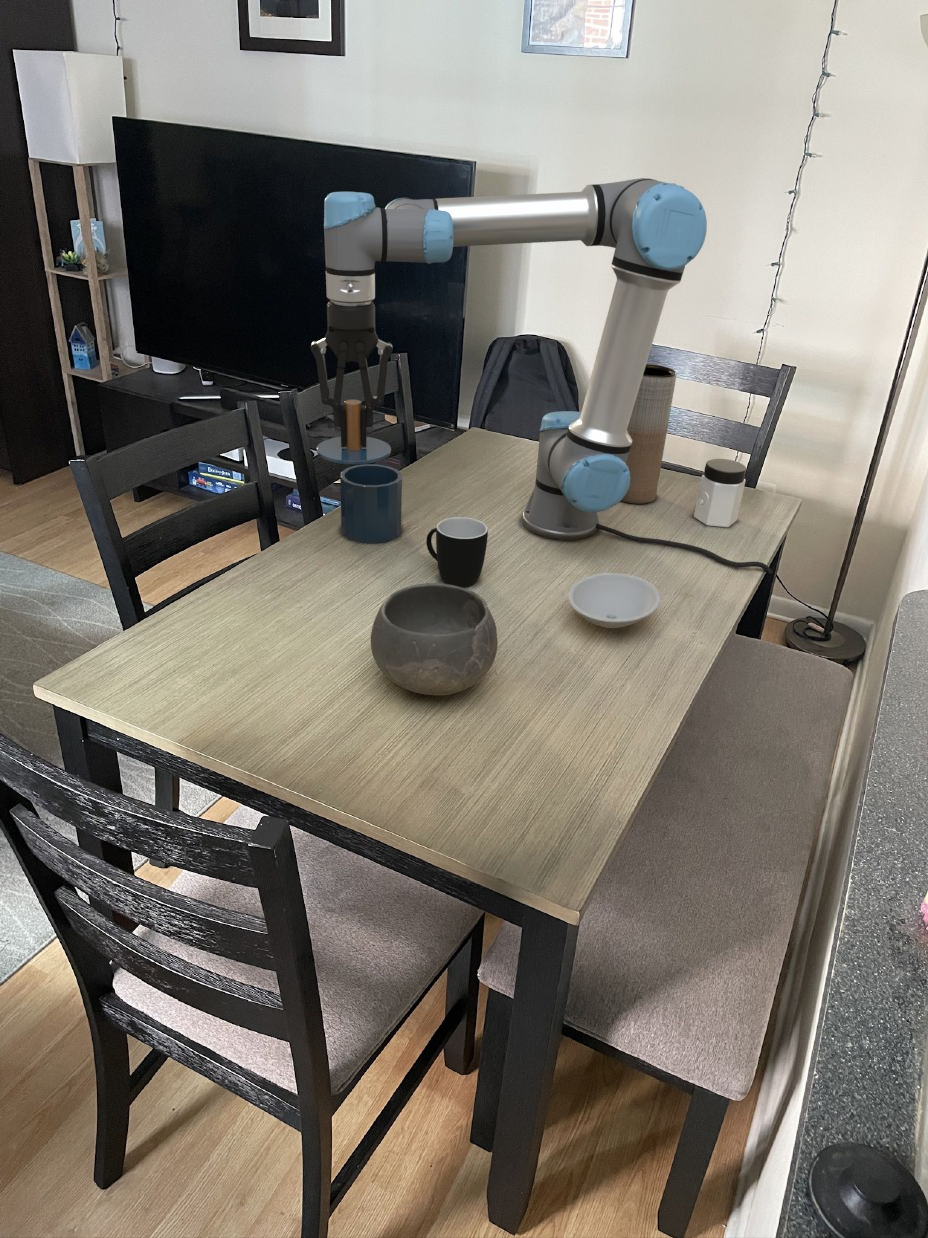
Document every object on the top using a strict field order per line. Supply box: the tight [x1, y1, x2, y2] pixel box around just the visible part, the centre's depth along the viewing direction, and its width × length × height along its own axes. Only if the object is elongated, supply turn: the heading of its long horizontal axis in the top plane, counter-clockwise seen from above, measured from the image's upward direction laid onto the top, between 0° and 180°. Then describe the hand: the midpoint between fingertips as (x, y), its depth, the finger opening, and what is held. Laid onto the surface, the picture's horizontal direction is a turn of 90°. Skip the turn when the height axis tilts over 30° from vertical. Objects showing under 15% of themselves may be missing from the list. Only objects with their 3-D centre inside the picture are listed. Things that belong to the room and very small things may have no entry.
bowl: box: [370, 582, 499, 696], centre depth 127 cm, size 18×18×13 cm
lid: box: [316, 399, 392, 465], centre depth 151 cm, size 13×13×9 cm
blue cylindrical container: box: [339, 463, 403, 544], centre depth 172 cm, size 12×12×12 cm
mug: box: [425, 516, 489, 588], centre depth 157 cm, size 12×9×10 cm
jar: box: [693, 458, 747, 528], centre depth 185 cm, size 9×8×12 cm
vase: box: [620, 363, 678, 505], centre depth 190 cm, size 10×10×28 cm
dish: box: [567, 572, 661, 629], centre depth 147 cm, size 18×14×5 cm
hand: (353, 444), depth 152 cm, fingers closed on lid, 3 cm apart
